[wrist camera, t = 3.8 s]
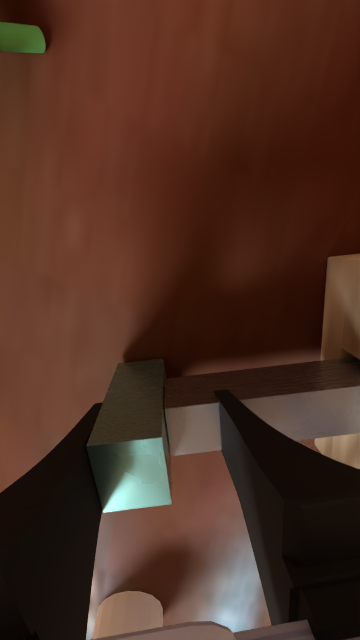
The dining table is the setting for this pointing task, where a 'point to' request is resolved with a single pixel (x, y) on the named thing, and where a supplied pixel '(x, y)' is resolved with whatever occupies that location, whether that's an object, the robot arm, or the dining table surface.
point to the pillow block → (341, 340)
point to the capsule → (127, 614)
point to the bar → (206, 419)
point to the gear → (21, 38)
